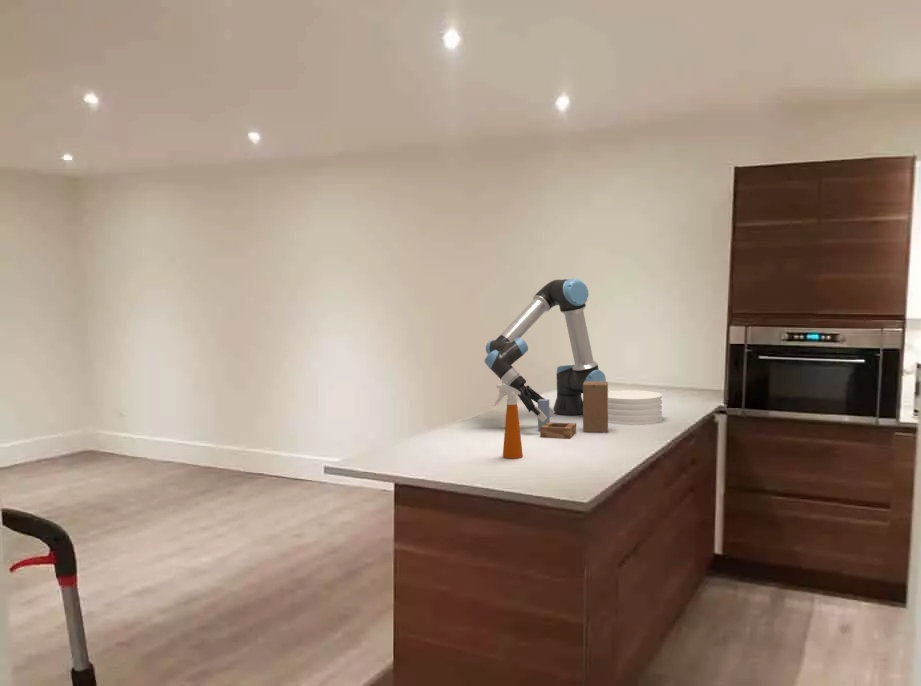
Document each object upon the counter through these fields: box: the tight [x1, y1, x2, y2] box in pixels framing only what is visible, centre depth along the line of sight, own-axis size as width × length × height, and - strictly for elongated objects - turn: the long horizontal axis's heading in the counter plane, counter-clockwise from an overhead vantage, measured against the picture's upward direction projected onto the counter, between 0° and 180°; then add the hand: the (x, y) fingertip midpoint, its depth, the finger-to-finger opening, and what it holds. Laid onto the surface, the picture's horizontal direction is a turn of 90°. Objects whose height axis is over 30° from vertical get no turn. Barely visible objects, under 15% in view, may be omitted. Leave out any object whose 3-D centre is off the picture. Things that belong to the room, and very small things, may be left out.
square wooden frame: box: [539, 421, 577, 440], centre depth 304 cm, size 12×12×4 cm
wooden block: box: [582, 381, 609, 433], centre depth 312 cm, size 10×10×20 cm
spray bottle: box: [492, 383, 524, 460], centre depth 265 cm, size 7×11×26 cm, turn 111°
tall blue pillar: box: [537, 398, 551, 432], centre depth 314 cm, size 4×4×13 cm
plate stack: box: [608, 389, 663, 426], centre depth 337 cm, size 28×28×12 cm
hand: (549, 417), depth 313 cm, fingers open, 13 cm apart
